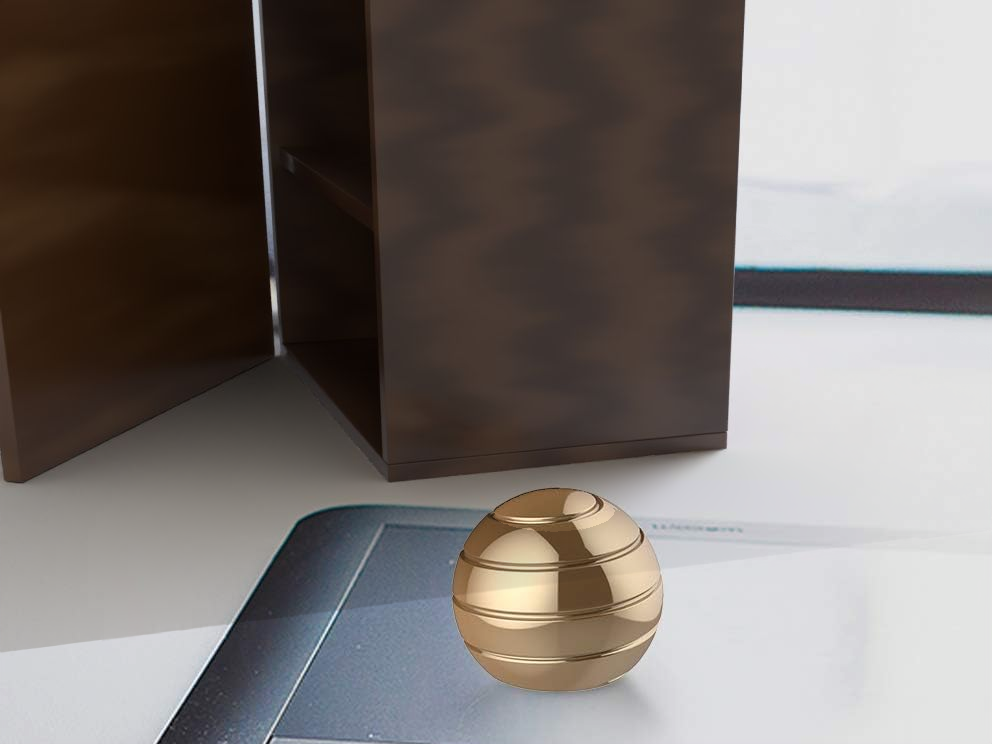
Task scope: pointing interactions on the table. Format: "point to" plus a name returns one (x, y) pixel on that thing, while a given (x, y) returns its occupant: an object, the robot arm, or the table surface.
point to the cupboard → (507, 224)
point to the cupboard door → (125, 217)
